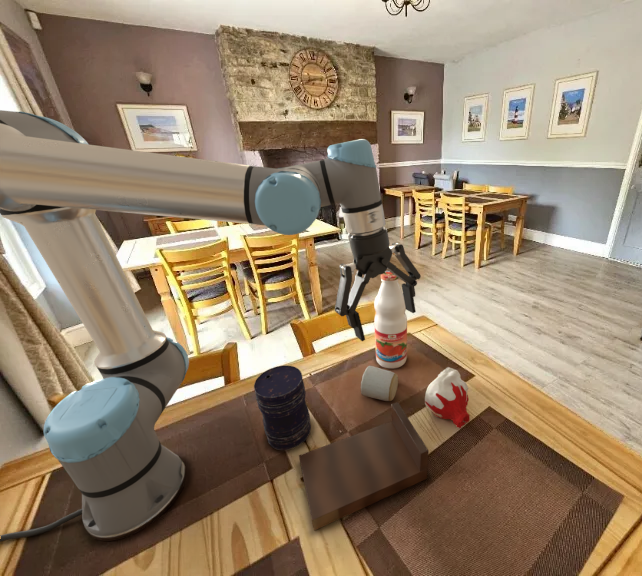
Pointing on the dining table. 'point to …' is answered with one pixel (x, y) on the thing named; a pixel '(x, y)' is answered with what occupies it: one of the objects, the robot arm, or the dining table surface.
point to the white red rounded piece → (448, 397)
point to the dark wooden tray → (363, 469)
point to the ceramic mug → (379, 383)
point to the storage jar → (283, 406)
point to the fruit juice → (390, 323)
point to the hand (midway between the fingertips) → (386, 323)
